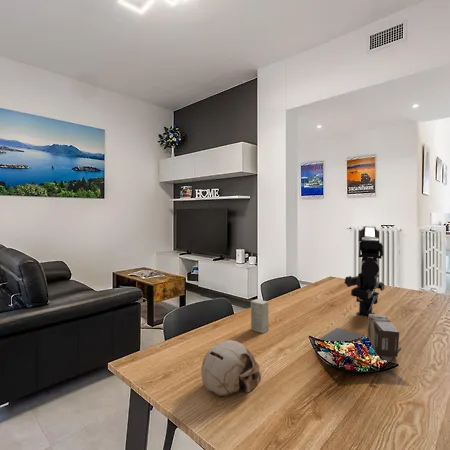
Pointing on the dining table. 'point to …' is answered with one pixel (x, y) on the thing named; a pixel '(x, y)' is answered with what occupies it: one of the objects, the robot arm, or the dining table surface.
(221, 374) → the coin bank
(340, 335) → the mat
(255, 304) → the skincare box
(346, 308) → the dining table surface
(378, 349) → the coffee box
